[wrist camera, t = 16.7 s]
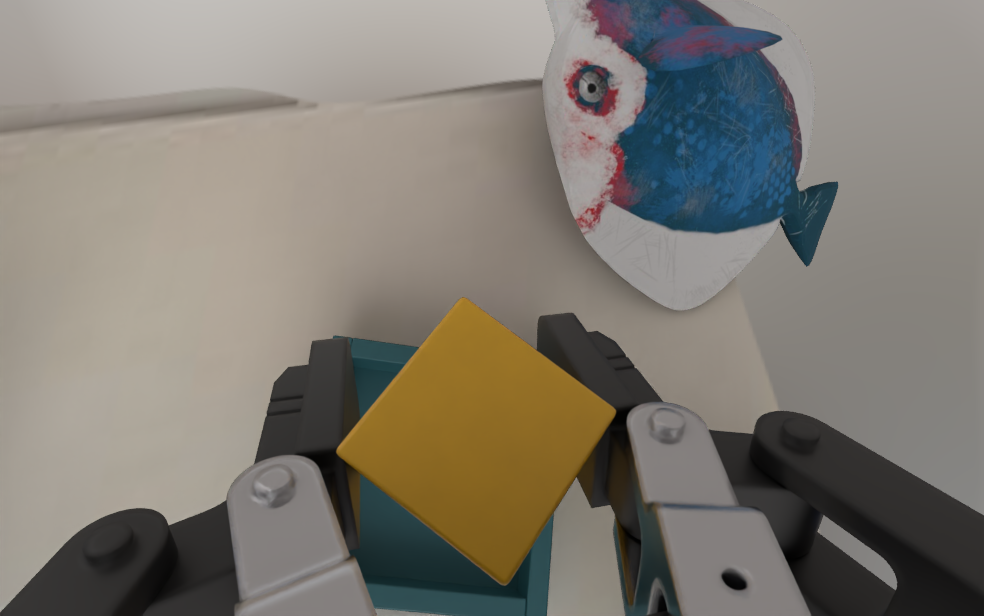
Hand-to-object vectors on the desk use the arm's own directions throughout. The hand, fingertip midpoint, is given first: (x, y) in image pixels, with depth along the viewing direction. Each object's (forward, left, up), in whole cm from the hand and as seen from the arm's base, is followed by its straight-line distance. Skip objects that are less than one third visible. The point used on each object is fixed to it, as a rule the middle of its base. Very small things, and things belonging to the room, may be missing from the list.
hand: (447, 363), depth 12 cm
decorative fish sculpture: (+12, +21, -6) cm, 25 cm away
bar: (+1, -2, -5) cm, 5 cm away
